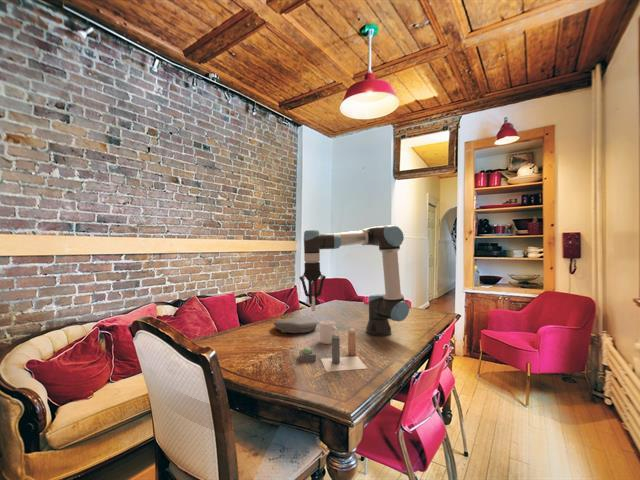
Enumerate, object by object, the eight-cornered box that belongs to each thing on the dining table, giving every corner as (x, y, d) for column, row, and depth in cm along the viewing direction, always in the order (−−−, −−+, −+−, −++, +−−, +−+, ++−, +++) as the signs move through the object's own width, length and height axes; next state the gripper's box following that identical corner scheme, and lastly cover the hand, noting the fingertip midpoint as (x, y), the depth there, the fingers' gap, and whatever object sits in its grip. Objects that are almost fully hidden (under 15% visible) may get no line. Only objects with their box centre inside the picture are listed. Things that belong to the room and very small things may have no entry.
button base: (313, 355, 147) (313, 349, 147) (315, 361, 140) (315, 354, 140) (299, 356, 145) (299, 350, 146) (300, 362, 139) (300, 355, 139)
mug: (333, 347, 159) (333, 326, 159) (316, 342, 167) (316, 322, 167) (343, 342, 165) (343, 323, 165) (326, 338, 173) (326, 319, 173)
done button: (310, 355, 145) (310, 347, 145) (312, 358, 141) (312, 350, 141) (303, 356, 144) (303, 347, 144) (303, 359, 140) (303, 350, 140)
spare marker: (354, 353, 149) (354, 328, 149) (356, 356, 146) (356, 330, 146) (347, 353, 149) (347, 328, 149) (349, 356, 145) (349, 330, 145)
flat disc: (326, 327, 196) (326, 320, 196) (300, 338, 172) (300, 331, 172) (292, 322, 211) (292, 315, 211) (264, 331, 187) (264, 324, 188)
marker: (338, 360, 139) (337, 333, 139) (341, 363, 136) (340, 335, 136) (330, 361, 138) (330, 334, 138) (333, 364, 134) (333, 336, 135)
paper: (357, 356, 145) (357, 356, 145) (367, 368, 131) (367, 368, 131) (320, 359, 142) (320, 358, 142) (326, 372, 128) (326, 371, 128)
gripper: (323, 260, 152) (324, 307, 152) (297, 261, 149) (299, 309, 149) (326, 262, 144) (327, 311, 144) (299, 263, 142) (300, 313, 142)
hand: (313, 310), depth 147 cm, fingers closed
